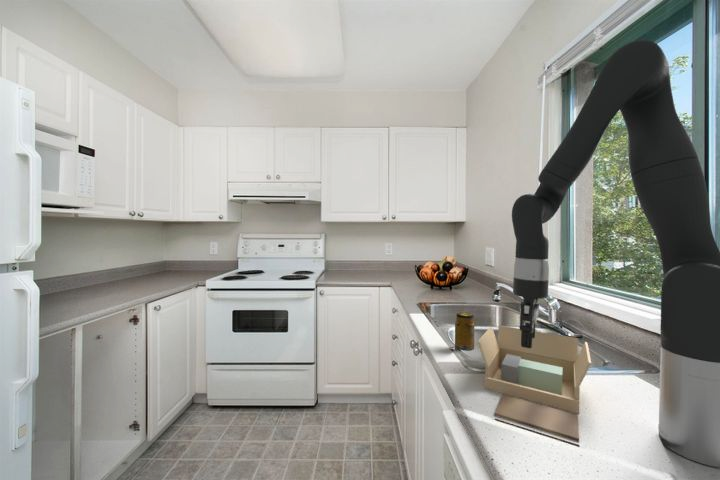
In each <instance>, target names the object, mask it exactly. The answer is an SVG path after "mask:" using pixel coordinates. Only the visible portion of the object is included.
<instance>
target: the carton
mask: <svg viewBox="0 0 720 480" xmlns="http://www.w3.org/2000/svg"><path fill="white" fill-rule="evenodd" d="M497 331H498V332H497V337H496V335H495V331H494V328H493V326H489V327H488V329H487V330H486V331H485V332H484V334H483V335H481V337H480V338H479V340H478V341H477V344H478V348H479V351H480V353H481V356H482V360H483V362H484V365H485V367H484V380H483V381H484V383H483V386H484V387H483V388H484V389H486V390H490V391H494V392H498V393H501V394H504V395H508V396H511V397H515V398H519V399H522V400H526V401H530V402H533V403H537V404H541V405H544V406H548V407H552V408H555V409H559V410H563V411H566V412H570V413H574V414H577V415H579V414H580V387H581V384H582V382H583V381H584V379H585V377H586V375H587V373H588V371H589V369H590V367H591V366H592V360H591V354H590V349H589V344H588V342H587V341H584V343H583V345H582V347H581V349H580V351H579V353H578V350H579V349H578V348H579V347H578V346H579V345H578V340H579V338H578V337H575V336H568V335H560V334H554V333H548V332H543V331H536V330H535V338H532V347H531V348H525V347H522V346H521V330H520V328H516V327H510V326H504V325H498V330H497ZM506 354H510V355H515V356H520V357H521V359H524V360H529V361H534V362H539V363H544V364H548V365H553V366H558V367H563V373H562V395H558V394H554V393H550V392H546V391H542V390H538V389H534V388H530V387H526V386H522V385H518V384H514V383H510V382H506V381H502V380H501V366H502V362H503V360H504V358H505V356H506Z"/></svg>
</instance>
